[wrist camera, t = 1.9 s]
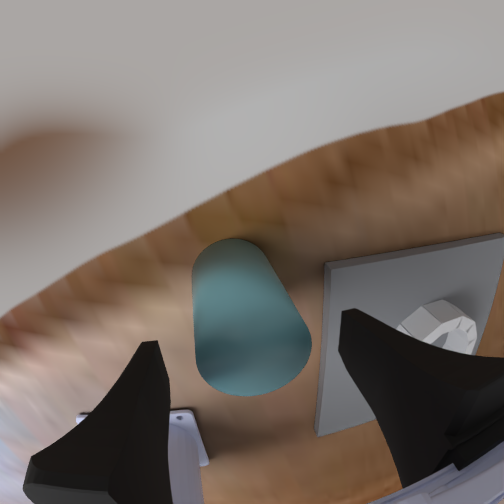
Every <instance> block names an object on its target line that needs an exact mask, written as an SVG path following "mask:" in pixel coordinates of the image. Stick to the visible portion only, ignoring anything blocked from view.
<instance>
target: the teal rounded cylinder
mask: <svg viewBox="0 0 504 504" xmlns="http://www.w3.org/2000/svg"><path fill="white" fill-rule="evenodd" d="M192 297H193V320H194V339H195V355H196V364H197V368H198V371H199V372H200V374H201V376H202V377H203V379H204V380H205V381H206V382H207V383H208V384H209V385H211V386H212V387H213V388H215V389H217V390H219V391H221V392H224V393H227V394H230V395H236V396H255V395H261V394H265V393H269V392H272V391H274V390H276V389H279V388H281V387H282V386H284V385H286V384H287V383H289V382H290V381H291V380H293V379H294V378H295V377H296V376H297V375H298V374H299V373H300V372H301V370H302V369H303V368H304V366H305V365H306V363H307V361H308V359H309V356H310V353H311V347H312V341H311V335H310V332H309V330H308V328H307V326H306V324H305V322H304V321H303V319H302V317H301V316H300V314H299V312H298V310H297V309H296V307H295V305H294V304H293V302H292V300H291V298H290V297H289V295H288V293H287V292H286V290H285V288H284V286H283V285H282V283H281V281H280V280H279V278H278V276H277V275H276V273H275V271H274V269H273V268H272V266H271V264H270V263H269V261H268V259H267V258H266V256H265V254H264V253H263V252H262V251H261V249H259V248H258V247H257V246H256V245H254V244H252V243H250V242H248V241H245V240H241V239H225V240H221V241H218V242H215V243H213V244H211V245H210V246H208V247H207V248H206V249H204V250H203V251H202V252H201V254H200V255H199V256H198V258H197V259H196V261H195V263H194V266H193V270H192Z"/></svg>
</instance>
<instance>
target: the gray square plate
mask: <svg viewBox="0 0 504 504" xmlns="http://www.w3.org/2000/svg"><path fill="white" fill-rule="evenodd" d="M503 259H504V234H502V233H495V234H490V235H485V236H479V237H474V238H468V239H463V240H457V241H452V242H446V243H440V244H435V245H429V246H423V247H417V248H411V249H406V250H400V251H394V252H388V253H382V254H376V255H370V256H364V257H357V258H351V259H345V260H339V261H332V262H326V263H325V271H324V302H323V324H322V341H321V357H320V370H319V383H318V394H317V405H316V415H315V424H314V430H315V432H316V435H317V437H320V436H324V435H327V434H331V433H334V432H338V431H341V430H344V429H348V428H351V427H354V426H357V425H360V424H363V423H366V422H369V421H372V420H375V419H376V417H375V415H374V413H373V411H372V410H371V408H370V406H369V405H368V403H367V402H366V400H365V398H364V397H363V395H362V394H361V392H360V391H359V389H358V387H357V386H356V384H355V383H354V381H353V380H352V378H351V376H350V375H349V373H348V371H347V370H346V368H345V365H344V363H343V361H342V359H341V356H340V354H339V352H338V345H339V335H340V324H341V313H342V311H344V310H348V309H353V308H356V309H359V310H361V311H363V312H365V313H366V314H368V315H370V316H372V317H374V318H376V319H378V320H379V321H381V322H383V323H385V324H387V325H389V326H391V327H393V328H395V329H396V330H398V331H401V332H403V333H405V334H407V335H409V336H411V337H413V338H416V339H418V340H420V341H423V342H426V343H428V344H431V345H434V346H437V347H440V348H444V349H447V350H451V351H455V352H459V353H464V354H469V355H475V354H476V351H477V349H478V346H479V343H480V340H481V338H482V335H483V332H484V329H485V326H486V323H487V320H488V316H489V313H490V310H491V307H492V303H493V300H494V296H495V292H496V289H497V285H498V281H499V277H500V273H501V268H502V264H503Z"/></svg>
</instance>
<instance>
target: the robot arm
mask: <svg viewBox="0 0 504 504" xmlns="http://www.w3.org/2000/svg"><path fill="white" fill-rule="evenodd" d="M338 352H339V354H340V356H341V359H342V361H343V363H344V365H345V368H346V370H347V371H348V373H349V375H350V376H351V378H352V380H353V381H354V383H355V384H356V386H357V387H358V389H359V391H360V392H361V394H362V395H363V397H364V398H365V400H366V402H367V403H368V405H369V406H370V408H371V410H372V411H373V413H374V415H375V417H376V419H377V421H378V423H379V426H380V428H381V430H382V432H383V434H384V437H385V439H386V442H387V444H388V446H389V449H390V451H391V454H392V457H393V460H394V462H395V465H396V468H397V471H398V474H399V477H400V481H401V484H402V487H403V489H401V490H399V491H397V492H395V493H392V494H390V495H388V496H385V497H383V498H381V499H378V500H376V501H373V502H370V503H368V504H497V503H498V502H499V501H501V500H502V499H503V498H504V358H498V357H483V356H476V355H469V354H464V353H459V352H455V351H451V350H447V349H444V348H440V347H437V346H434V345H431V344H428V343H426V342H423V341H420V340H418V339H416V338H413V337H411V336H409V335H407V334H405V333H403V332H401V331H398V330H396V329H395V328H393V327H391V326H389V325H387V324H385V323H383V322H381V321H379V320H378V319H376V318H374V317H372V316H370V315H368V314H366V313H365V312H363V311H361V310H359V309H356V308H353V309H348V310H344V311H342V313H341V324H340V335H339V345H338ZM170 403H171V400H170V383H169V377H168V374H167V371H166V367H165V364H164V361H163V357H162V354H161V351H160V347H159V344H158V340H157V341H147V342H142V343H141V344H140V346H139V347H138V349H137V350H136V352H135V354H134V355H133V357H132V359H131V360H130V362H129V363H128V365H127V367H126V368H125V370H124V371H123V373H122V374H121V376H120V377H119V379H118V380H117V381H116V383H115V384H114V385H113V387H112V388H111V389H110V391H109V392H108V393H107V395H106V396H105V397H104V398H103V400H102V401H101V402H100V403H99V404H98V405H97V406H96V408H95V409H94V410H93V411H92V412H91V413H90V414H89V415H77V417H76V422H77V423H78V425H77V426H76V427H75V428H73V429H72V430H71V431H70V432H68V433H67V434H66V435H64V436H63V437H62V438H60V439H59V440H57V441H56V442H55V443H53V444H52V445H50V446H48V447H47V448H45V449H43V450H41V451H40V452H38V453H36V454H35V455H33V456H31V459H30V462H29V465H28V468H27V472H26V476H25V480H24V484H23V491H24V493H25V494H26V496H27V497H28V498H29V499H30V500H31V501H32V502H33V503H34V504H204V498H203V490H202V482H201V473H200V466H206V465H208V464H209V459H208V456H207V453H206V450H205V447H204V444H203V442H202V439H201V436H200V433H199V430H198V427H197V423H196V420H195V417H194V414H193V412H192V411H191V410H176V411H170Z"/></svg>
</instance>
